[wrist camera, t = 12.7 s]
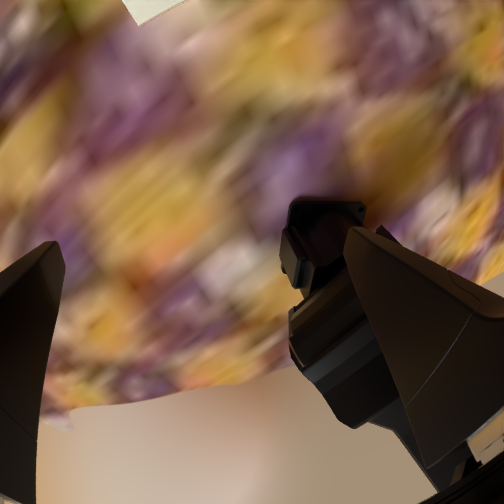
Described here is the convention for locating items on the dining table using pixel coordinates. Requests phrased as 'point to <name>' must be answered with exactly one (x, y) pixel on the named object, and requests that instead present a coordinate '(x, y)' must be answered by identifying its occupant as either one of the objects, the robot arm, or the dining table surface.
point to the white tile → (149, 8)
